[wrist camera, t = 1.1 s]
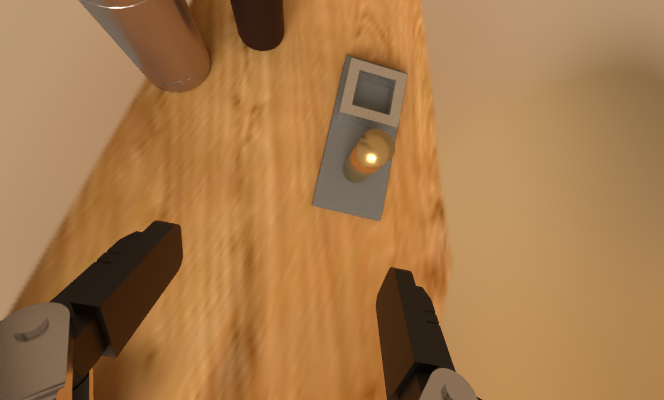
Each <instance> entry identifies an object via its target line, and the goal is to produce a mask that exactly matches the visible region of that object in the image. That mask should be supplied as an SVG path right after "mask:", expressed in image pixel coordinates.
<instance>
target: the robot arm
mask: <svg viewBox="0 0 664 400" xmlns="http://www.w3.org/2000/svg"><path fill="white" fill-rule="evenodd" d="M79 1H80V2H81V4H82V5H83V6H84V7H85V8H86V9H87V10H88V12H89V13H90V14H91V15H92V16H93V17H94V18H95V20H96V21H97V22H98V23H99V24H100V25H101V26H102V27H103V28H104V30H105V31H106V32H107V33H108V34H109V35H110V36H111V38H112V39H113V40H114V41H115V42H116V43H117V44H118V46H119V47H120V48H121V49H122V50H123V51H124V52H125V54H126V55H127V56H128V57H129V58H130V59H131V60H132V61H133V63H134V64H135V65H136V66H137V67H138V68H139V69H140V71H141V72H142V73H143V74H144V75H145V76H146V77H147V78H148V79H149V81H150V82H151V83H153V84H154V85H155V86H157V87H159V88H161V89H163V90H167V91H172V92H181V91H187V90H190V89H193V88H194V87H196V86H198V85H199V84H200V83H202V82H203V81H204V79H205V78H206V77H207V75H208V73H209V70H210V65H211V62H210V56H209V53H208V50H207V48H206V46H205V44H204V41H203V39H202V37H201V34H200V32H199V30H198V27H197V25H196V23H195V21H194V18H193V16H192V14H191V12H190V9H189V7H188V5H187V2H186V0H79ZM182 259H183V250H182V236H181V227H180V225H178V224H173V223H168V222H163V221H158V220H157V221H154V222H153V223H152V224H151V225H150V226H148V227H147V228H146V229H145V230H144V231H143V232H138V231H136V232H134V233H132V234H130V235H128V236H126V237H124V238H122V239H120V240H119V241H117V242H116V243H115V244H114V245H113V246H112V247H111V248H110V249H108V251H107V253H104V254H103V255H102V256H101V257H100V258H98V259H97V262H94V263H93V264H92V265H91V266H89V267H88V268H87V269H86V270H85V271H84V272H83V273H82V274H81V275H79V276H78V277H77V278H76V279H75V280H74V281H73V282H72V283H70V284H69V285H68V286H67V287H66V288H65V289H64V290H63V291H62V292H60V293H59V294H58V295H57V296H56V297H55V298H54V299H52V300H51V301H50V302H49V303H40V304H35V305H32V306H28V307H26V308H23V309H21V310H18V311H16V312H14V313H13V314H11V315H9V316H7V317H6V318H5V319H3V320H2V321H0V400H93V368H92V367H93V366H94V365H95V363H96V362H97V361H98V359H99V358H100V357H101V356H108V357H114V358H116V357H117V356H118V355H119V353H120V352H121V350H122V349H123V348H124V346H125V345H126V343H127V342H128V341H129V339H130V338H131V336H132V335H133V334H134V332H135V331H136V329H137V328H138V327H139V325H140V324H141V322H142V321H143V320H144V318H145V317H146V315H147V314H148V313H149V311H150V310H151V308H152V307H153V306H154V304H155V303H156V301H157V300H158V299H159V297H160V296H161V294H162V293H163V292H164V290H165V289H166V287H167V286H168V285H169V283H170V282H171V280H172V279H173V278H174V276H175V275H176V273H177V272H178V270H179V268H180V266H181V263H182ZM376 313H377V321H378V329H379V337H380V345H381V354H382V362H383V370H384V378H385V387H386V395H387V400H482V399H480V398H478V397H477V396H476V394H475V392H474V390H473V389H472V387H471V386H470V385H469V383H468V382H467V381H466V380H465V379H464V378H463V377H462V376H461V375H459V374H458V373H456V371H455V369H454V366H453V363H452V360H451V357H450V354H449V351H448V348H447V345H446V342H445V340H444V336H443V333H442V330H441V328H440V326H439V322H438V319H437V316H436V315H435V310H434V307H433V304H432V301H431V299H430V297H429V296H428V294H427V293H426V292H425V290H424V289H423V288H422V287H419V286H416V285H415V281H414V278H413V275H412V272H411V271H408V270H403V269H398V268H393V267H391V268H390V269H389V271H388V273H387V275H386V277H385V279H384V281H383V284H382V286H381V288H380V290H379V292H378V295H377V300H376Z"/></svg>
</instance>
